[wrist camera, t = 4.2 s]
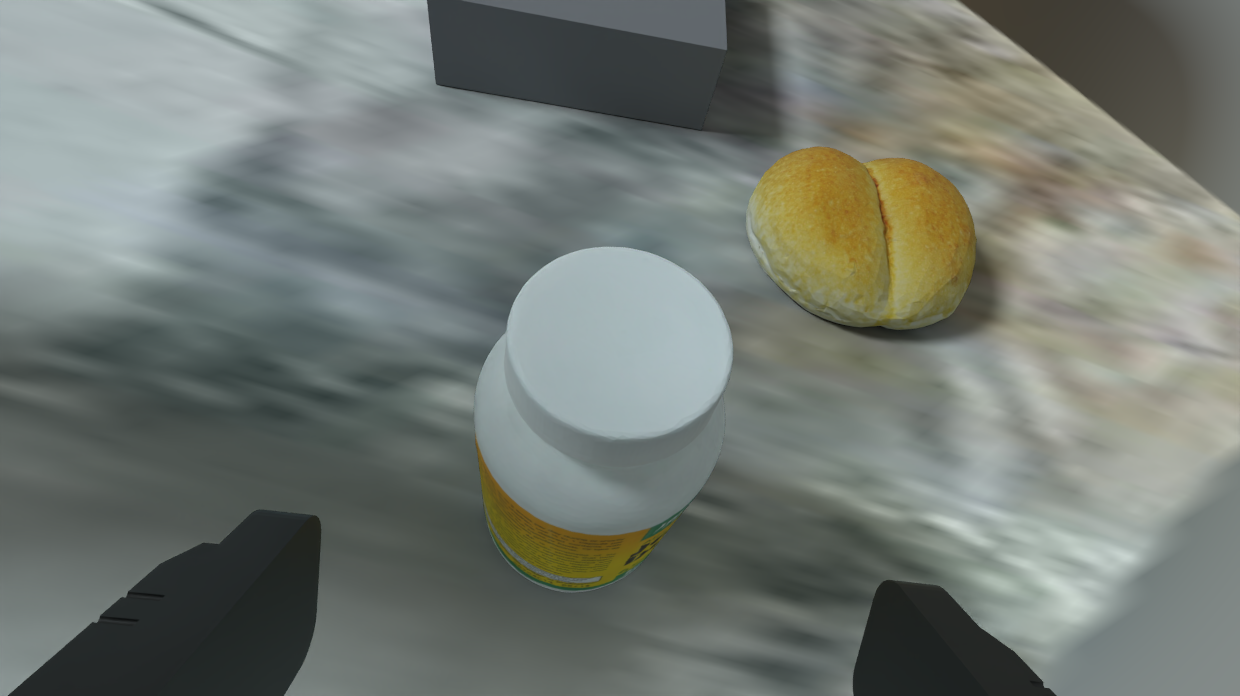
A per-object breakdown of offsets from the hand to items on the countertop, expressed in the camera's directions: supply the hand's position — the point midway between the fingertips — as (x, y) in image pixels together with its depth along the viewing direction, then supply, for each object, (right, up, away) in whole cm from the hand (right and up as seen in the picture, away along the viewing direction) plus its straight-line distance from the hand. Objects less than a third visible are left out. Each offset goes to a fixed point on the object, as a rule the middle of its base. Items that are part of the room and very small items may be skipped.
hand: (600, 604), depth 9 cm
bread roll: (+10, +7, +18) cm, 22 cm away
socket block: (-1, +20, +23) cm, 30 cm away
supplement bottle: (-1, -1, +10) cm, 10 cm away
